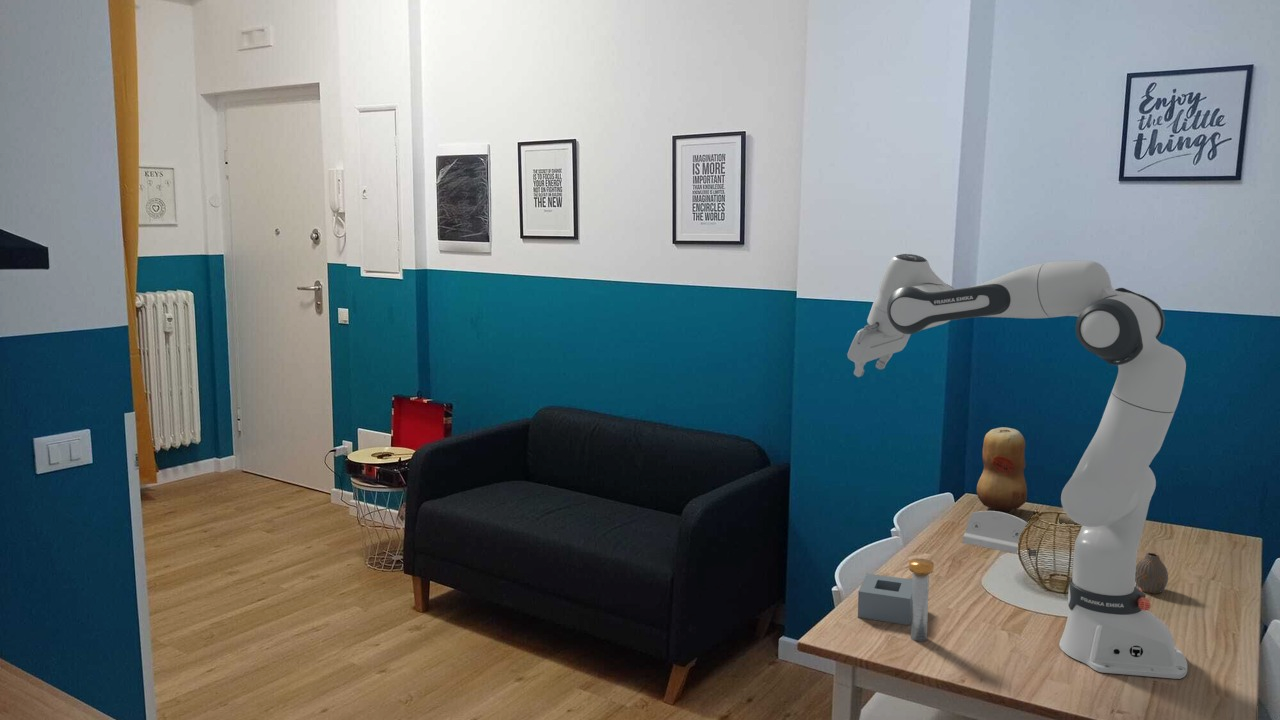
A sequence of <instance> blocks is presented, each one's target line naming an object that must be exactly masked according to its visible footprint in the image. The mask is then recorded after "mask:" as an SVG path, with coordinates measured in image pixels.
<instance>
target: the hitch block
mask: <svg viewBox="0 0 1280 720" xmlns="http://www.w3.org/2000/svg"><path fill="white" fill-rule="evenodd" d="M912 586H913V578H912V579H911V578H903V577H897V576H896V577H895V576H889V575H881V574H874V573H866V574H865V577H864V579H863V581H862V583H861V585H860V587H859V589H858V592H857V593H858V594H857V595H858V596H857V599H858V600H857V618H860V617H862V618H861V619H866V618H867V619H868V620H872V619H873V621H880V622H885V623H886V622H887V623H893V624H897V625H898V624H900V625H905V626H911V614H912Z"/></svg>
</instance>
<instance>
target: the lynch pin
mask: <svg viewBox="0 0 1280 720" xmlns="http://www.w3.org/2000/svg"><path fill="white" fill-rule="evenodd" d="M934 566H935V564H934V562H933V561H932V560H929V559H927V558H926V559H925V558H912V559H910V560H909V562H908V569H909V571H910V572H912V580H913V586H912V614H911V622H910V640H913V641H915V642H921V643H922V642H923V643H924V642H926V641H927V639H928V613H929V611H928V610H929V591H930V590H929V588H930V585H929V582H930V575H931V574H932V573H934Z"/></svg>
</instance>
